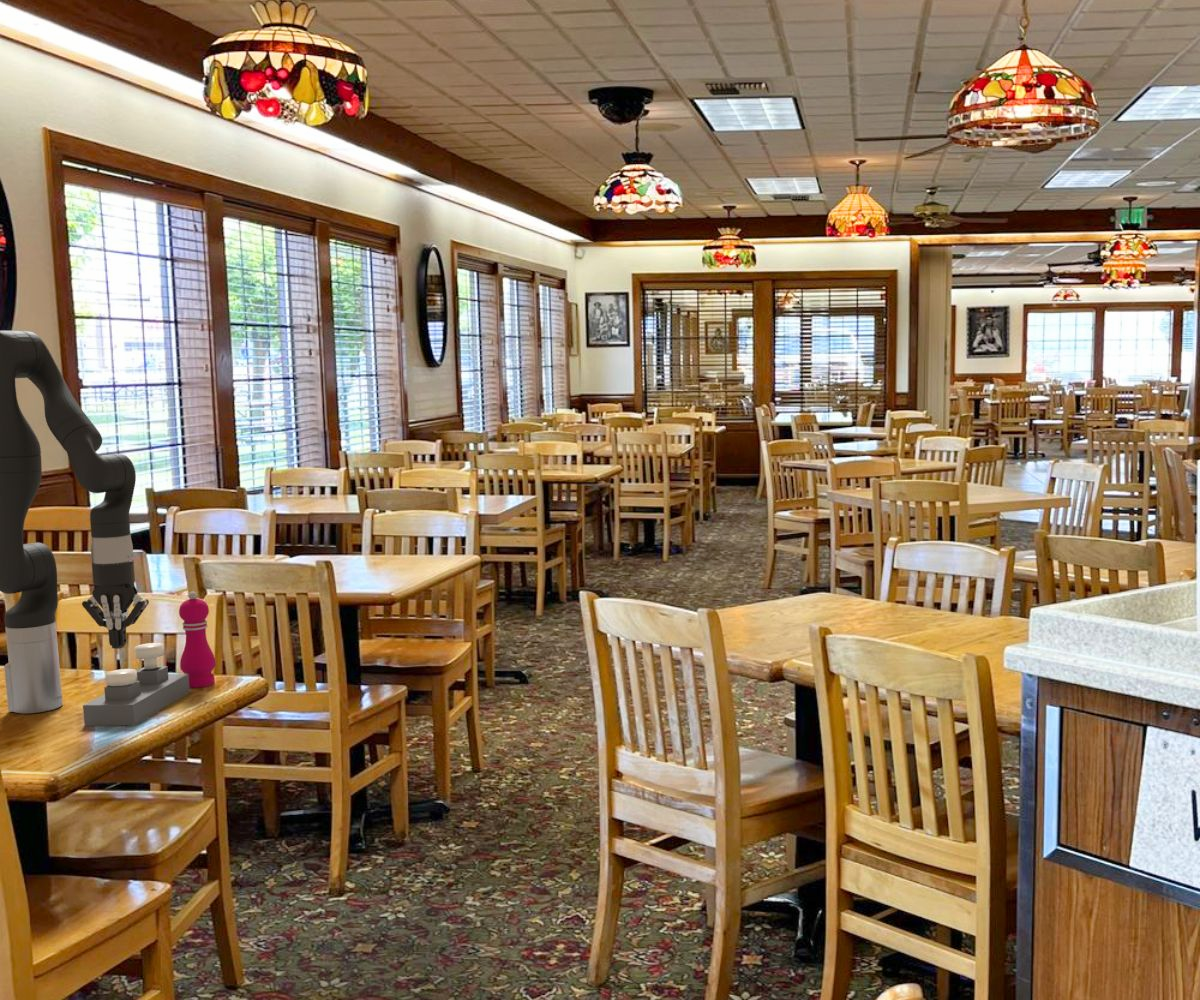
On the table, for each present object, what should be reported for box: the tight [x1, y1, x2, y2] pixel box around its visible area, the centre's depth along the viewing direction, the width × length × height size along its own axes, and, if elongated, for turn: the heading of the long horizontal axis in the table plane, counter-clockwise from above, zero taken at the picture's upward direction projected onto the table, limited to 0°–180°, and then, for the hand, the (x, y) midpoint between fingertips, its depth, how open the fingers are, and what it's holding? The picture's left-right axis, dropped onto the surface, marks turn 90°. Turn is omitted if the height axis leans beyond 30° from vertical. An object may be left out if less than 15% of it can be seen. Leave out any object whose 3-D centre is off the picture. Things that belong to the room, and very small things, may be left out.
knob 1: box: [105, 668, 137, 686], centre depth 247 cm, size 6×6×4 cm
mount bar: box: [82, 665, 191, 727], centre depth 253 cm, size 10×24×6 cm, turn 173°
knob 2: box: [134, 642, 165, 669], centre depth 259 cm, size 6×6×4 cm
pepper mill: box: [178, 591, 217, 689], centre depth 271 cm, size 7×7×20 cm
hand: (118, 647), depth 246 cm, fingers closed
